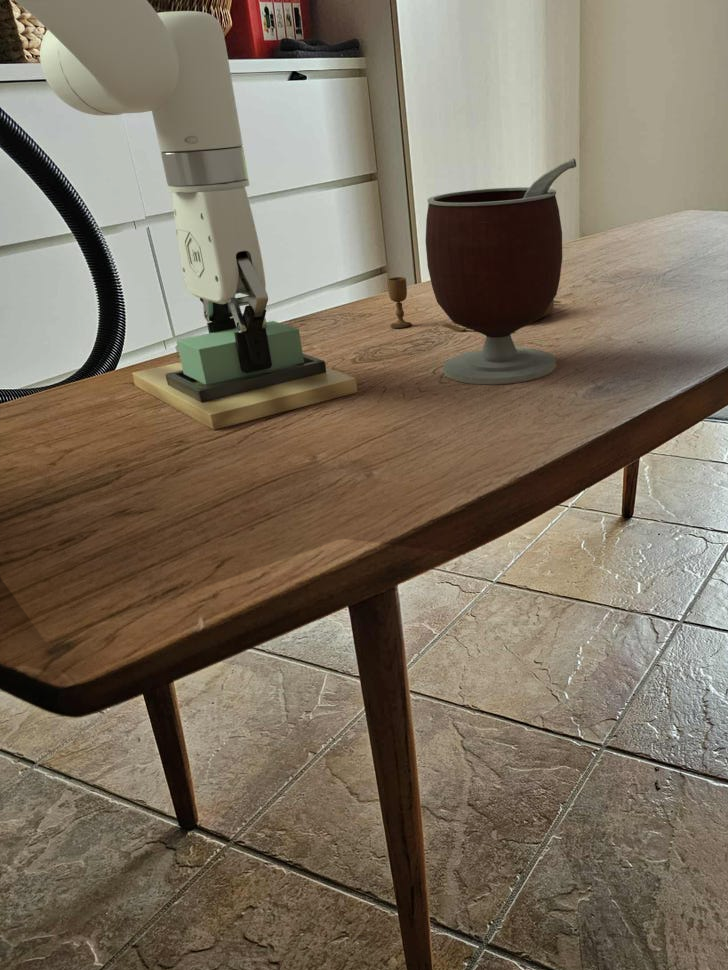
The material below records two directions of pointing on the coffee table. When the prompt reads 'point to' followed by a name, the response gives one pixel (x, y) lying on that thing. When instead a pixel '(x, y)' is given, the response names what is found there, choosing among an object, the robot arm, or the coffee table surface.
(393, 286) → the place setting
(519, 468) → the coffee table surface
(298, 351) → the green rectangular block
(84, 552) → the coffee table surface
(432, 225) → the mate gourd
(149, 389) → the wooden block holder
